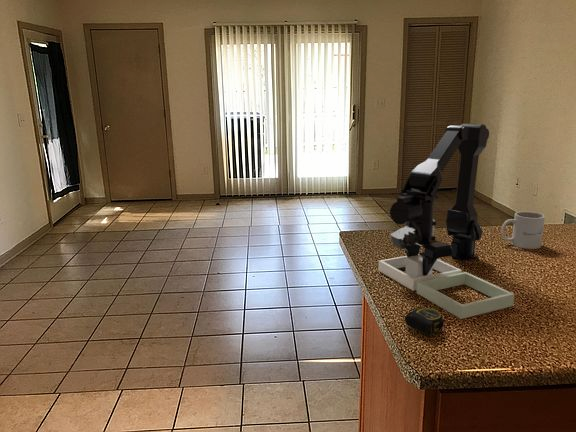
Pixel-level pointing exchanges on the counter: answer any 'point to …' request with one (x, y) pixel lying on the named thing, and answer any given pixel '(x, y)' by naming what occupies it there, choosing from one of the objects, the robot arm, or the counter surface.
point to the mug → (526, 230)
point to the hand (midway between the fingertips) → (418, 272)
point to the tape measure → (425, 320)
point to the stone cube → (415, 266)
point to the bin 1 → (391, 270)
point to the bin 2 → (497, 302)
